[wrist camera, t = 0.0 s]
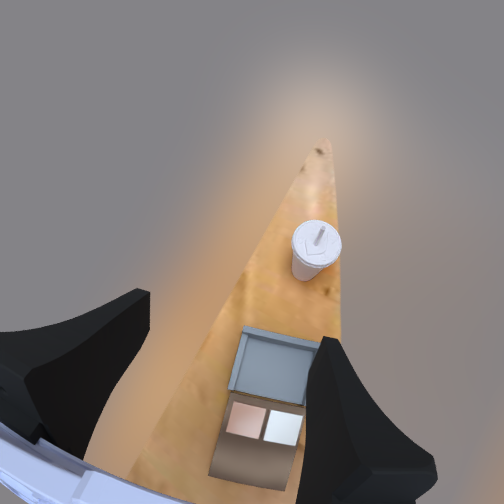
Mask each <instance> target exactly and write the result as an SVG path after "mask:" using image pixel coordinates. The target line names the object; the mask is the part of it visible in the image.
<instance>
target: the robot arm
mask: <svg viewBox="0 0 504 504" xmlns="http://www.w3.org/2000/svg"><path fill="white" fill-rule="evenodd" d="M149 330H150V292H148V291H145V290H142V289H138V288H137V289H134V290H132V291H130V292H128V293H126V294H124V295H122V296H120V297H119V298H117V299H115V300H113V301H111V302H109V303H107V304H105V305H103V306H101V307H99V308H96V309H94V310H92V311H89V312H87V313H85V314H83V315H80V316H78V317H75V318H73V319H70V320H67V321H64V322H61V323H57V324H53V325H49V326H45V327H41V328H36V329H31V330H23V331H15V332H0V483H2V484H3V485H4V486H5V487H7V488H8V489H9V490H11V491H12V492H13V493H15V494H16V495H17V496H19V497H20V498H21V499H23V500H24V501H25V502H27V503H28V504H194V503H191V502H187V501H184V500H180V499H177V498H174V497H171V496H168V495H165V494H162V493H159V492H156V491H153V490H150V489H147V488H145V487H142V486H139V485H137V484H134V483H132V482H129V481H127V480H124V479H122V478H119V477H117V476H115V475H112V474H110V473H108V472H106V471H103V470H101V469H99V468H97V467H95V466H93V465H91V464H89V463H87V462H84V461H83V458H84V455H85V452H86V450H87V447H88V444H89V441H90V439H91V436H92V434H93V431H94V428H95V426H96V424H97V422H98V419H99V417H100V415H101V413H102V411H103V408H104V406H105V404H106V402H107V400H108V398H109V396H110V394H111V392H112V391H113V389H114V387H115V386H116V384H117V383H118V381H119V380H120V378H121V377H122V375H123V374H124V372H125V371H126V369H127V368H128V366H129V365H130V363H131V362H132V360H133V359H134V358H135V356H136V354H137V353H138V351H139V350H140V349H141V347H142V344H143V343H144V341H145V338H146V337H147V334H148V332H149ZM437 480H438V477H437V471H436V465H435V462H434V458H433V456H432V455H431V454H429V453H428V452H427V451H425V450H424V449H422V448H421V447H420V446H418V445H417V444H415V443H414V442H413V441H412V440H411V439H410V438H408V437H407V436H406V435H405V434H404V433H403V432H401V431H400V430H399V429H398V428H397V427H396V426H395V425H394V424H393V423H392V421H390V419H389V418H388V417H387V416H386V415H385V414H384V413H383V412H382V410H381V409H380V408H379V407H378V405H377V404H376V403H375V402H374V400H373V399H372V398H371V396H370V395H369V393H368V392H367V390H366V389H365V387H364V386H363V384H362V383H361V381H360V379H359V378H358V376H357V374H356V372H355V371H354V369H353V367H352V365H351V363H350V361H349V359H348V358H347V356H346V354H345V352H344V350H343V348H342V346H341V344H340V342H339V340H338V339H335V338H330V337H325V336H323V339H322V341H321V343H320V346H319V348H318V351H317V353H316V355H315V358H314V360H313V362H312V365H311V367H310V369H309V372H308V380H307V388H306V443H305V452H304V460H303V466H302V472H301V478H300V484H299V489H298V494H297V499H296V504H416V502H415V500H416V499H417V498H419V497H420V496H421V495H423V494H424V493H426V492H427V491H428V490H429V489H431V488H432V487H433V486H434V484H435V483H436V481H437Z"/></svg>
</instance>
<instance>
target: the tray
mask: <svg viewBox="0 0 504 504" xmlns="http://www.w3.org/2000/svg"><path fill="white" fill-rule="evenodd" d="M319 346H320V343H318V342H314V341H309V340H304V339H300V338H295V337H291V336H286V335H282V334H277V333H273V332H269V331H265V330H261V329H256V328H252V327H248V326H244V327H243V331H242V336H241V340H240V344H239V347H238V351H237V355H236V359H235V363H234V366H233V370H232V374H231V378H230V382H229V385H228V389H229V390H233V391H234V390H237V391H241V392H245V393H249V394H253V395H258V396H262V397H267V398H271V399H276V400H281V401H286V402H291V403H296V404H301V405H303V406H306V388H307V380H308V372H309V369H310V367H311V365H312V362H313V360H314V358H315V355H316V353H317V351H318V348H319Z"/></svg>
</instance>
